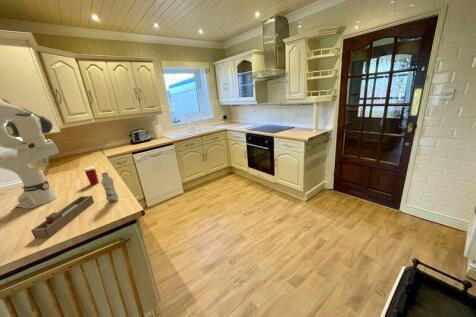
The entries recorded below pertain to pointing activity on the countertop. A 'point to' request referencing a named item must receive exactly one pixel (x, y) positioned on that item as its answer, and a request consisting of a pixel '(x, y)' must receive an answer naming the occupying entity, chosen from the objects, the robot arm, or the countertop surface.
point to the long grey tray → (63, 217)
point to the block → (53, 217)
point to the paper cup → (91, 175)
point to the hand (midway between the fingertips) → (45, 166)
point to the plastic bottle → (109, 187)
